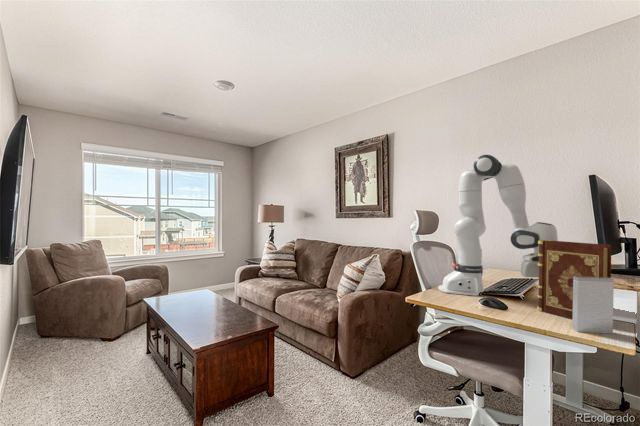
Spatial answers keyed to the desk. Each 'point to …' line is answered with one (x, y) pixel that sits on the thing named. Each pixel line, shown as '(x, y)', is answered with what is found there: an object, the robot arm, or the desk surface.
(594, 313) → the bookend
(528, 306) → the desk surface
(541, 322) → the desk surface
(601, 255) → the decorative book
